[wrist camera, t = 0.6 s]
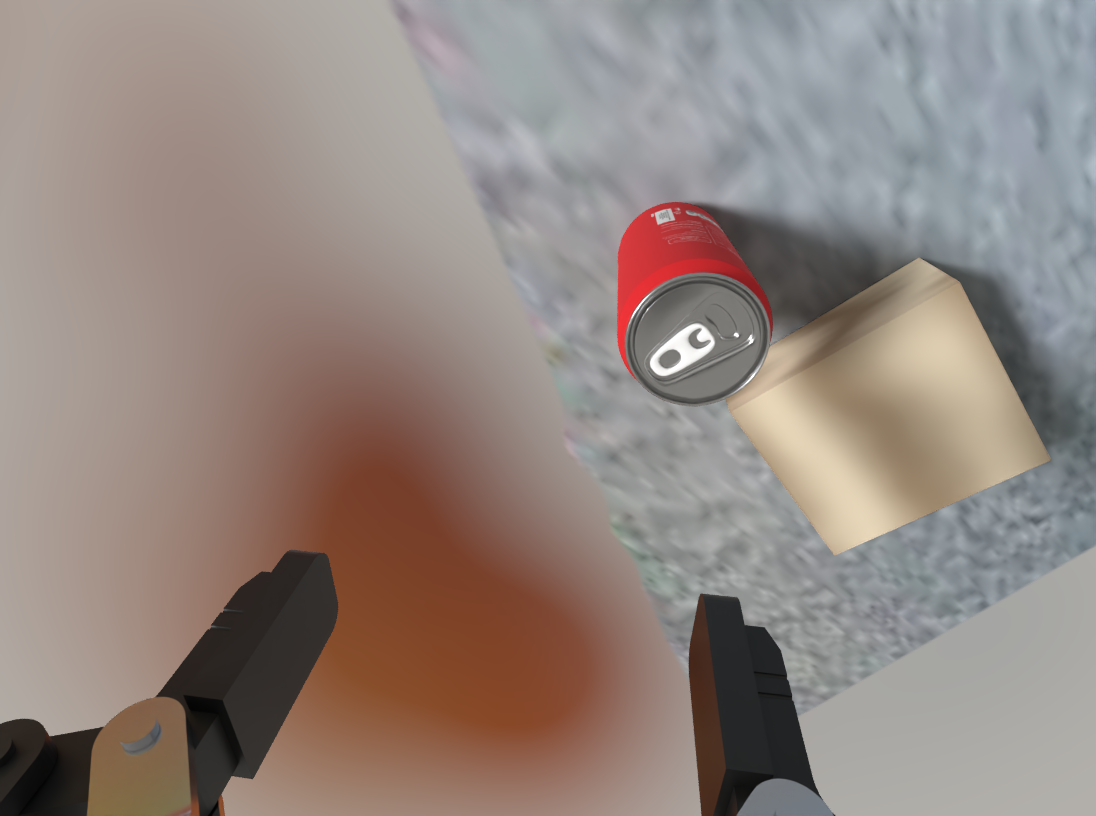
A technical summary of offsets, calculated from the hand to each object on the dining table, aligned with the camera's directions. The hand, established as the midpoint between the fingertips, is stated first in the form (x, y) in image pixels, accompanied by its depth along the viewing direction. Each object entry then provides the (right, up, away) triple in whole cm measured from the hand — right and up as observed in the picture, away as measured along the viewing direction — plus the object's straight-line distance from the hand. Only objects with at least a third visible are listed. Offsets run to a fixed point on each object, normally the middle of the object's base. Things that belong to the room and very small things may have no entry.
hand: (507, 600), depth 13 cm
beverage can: (+7, +12, +18) cm, 22 cm away
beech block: (+18, +5, +20) cm, 27 cm away
